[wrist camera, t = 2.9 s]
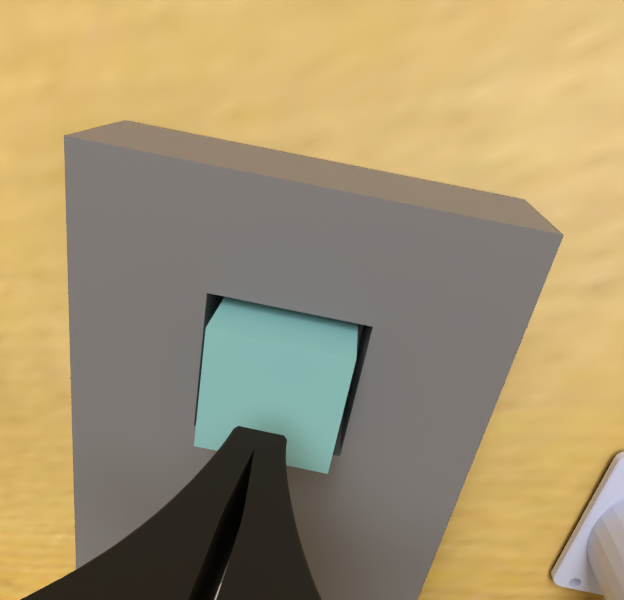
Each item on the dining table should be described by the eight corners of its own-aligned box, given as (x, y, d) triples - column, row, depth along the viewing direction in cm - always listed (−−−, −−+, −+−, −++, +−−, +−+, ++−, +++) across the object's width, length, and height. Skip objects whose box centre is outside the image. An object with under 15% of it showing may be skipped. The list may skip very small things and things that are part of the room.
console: (524, 199, 18) (563, 234, 14) (361, 655, 29) (360, 740, 25) (125, 120, 18) (64, 135, 14) (115, 602, 29) (79, 679, 26)
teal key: (358, 309, 18) (356, 358, 15) (333, 413, 20) (327, 473, 17) (232, 284, 18) (205, 327, 15) (219, 389, 20) (194, 445, 17)
